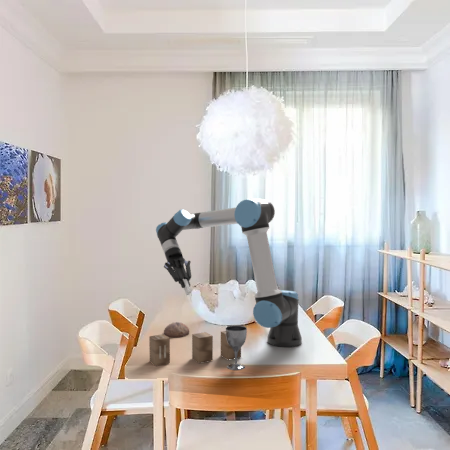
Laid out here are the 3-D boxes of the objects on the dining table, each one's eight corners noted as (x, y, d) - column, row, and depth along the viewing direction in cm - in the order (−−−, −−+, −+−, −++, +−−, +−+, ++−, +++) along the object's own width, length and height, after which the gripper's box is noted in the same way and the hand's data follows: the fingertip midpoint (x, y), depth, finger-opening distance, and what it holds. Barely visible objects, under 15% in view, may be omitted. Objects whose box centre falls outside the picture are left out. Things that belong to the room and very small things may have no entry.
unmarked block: (205, 356, 193) (205, 332, 192) (212, 360, 188) (212, 335, 187) (192, 358, 190) (192, 334, 189) (199, 363, 185) (199, 338, 184)
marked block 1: (163, 358, 190) (163, 333, 189) (170, 363, 184) (169, 337, 184) (149, 361, 187) (149, 336, 186) (155, 366, 181) (155, 340, 181)
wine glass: (249, 369, 178) (249, 330, 177) (229, 371, 176) (229, 331, 175) (242, 362, 186) (242, 324, 185) (223, 364, 184) (223, 326, 183)
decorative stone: (170, 339, 216) (170, 327, 216) (159, 333, 226) (159, 321, 226) (193, 335, 222) (193, 324, 222) (182, 329, 233) (182, 318, 232)
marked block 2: (233, 353, 196) (233, 329, 196) (241, 357, 191) (241, 333, 191) (220, 355, 193) (220, 331, 193) (228, 360, 188) (228, 335, 188)
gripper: (182, 255, 227) (199, 296, 213) (157, 257, 220) (172, 299, 207) (187, 245, 222) (204, 286, 208) (161, 247, 215) (177, 289, 202)
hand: (188, 293), depth 207 cm, fingers closed
